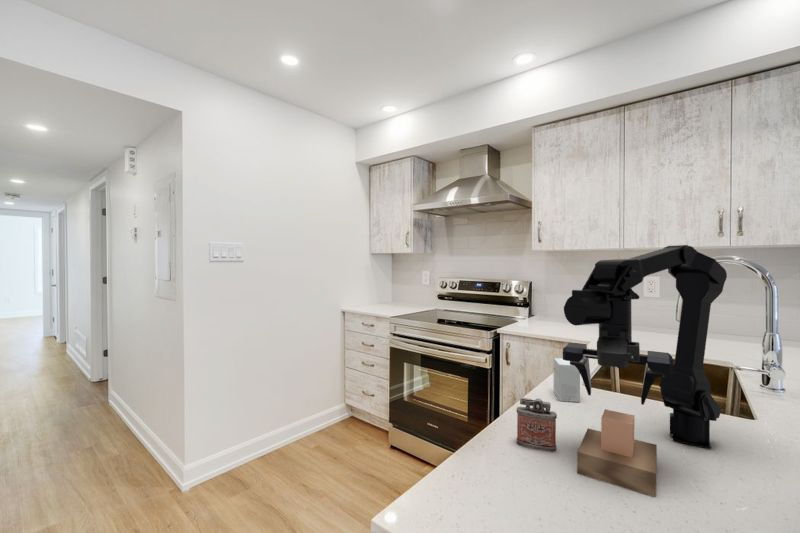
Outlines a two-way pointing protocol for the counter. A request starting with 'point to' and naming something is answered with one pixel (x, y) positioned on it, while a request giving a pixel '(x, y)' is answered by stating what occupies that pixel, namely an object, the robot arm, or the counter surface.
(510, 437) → the counter surface
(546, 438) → the lighter
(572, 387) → the small box
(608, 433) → the terracotta block
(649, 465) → the plate
